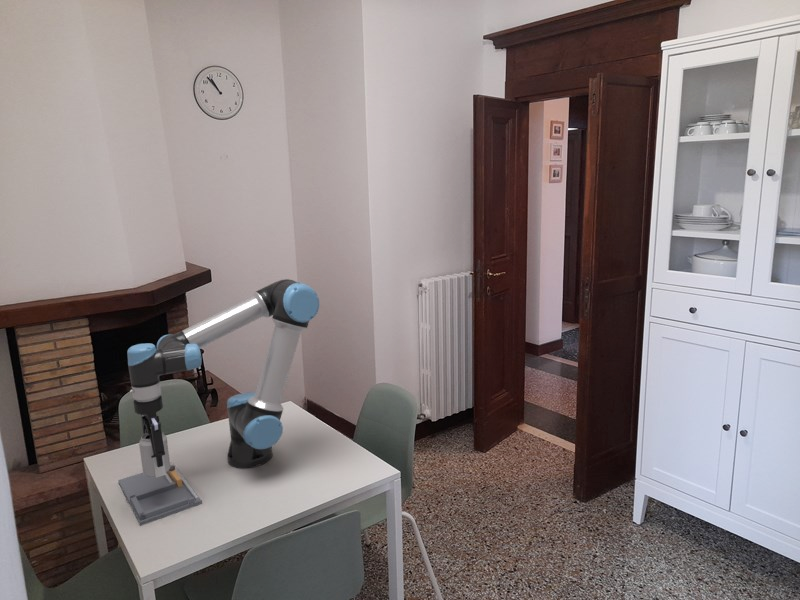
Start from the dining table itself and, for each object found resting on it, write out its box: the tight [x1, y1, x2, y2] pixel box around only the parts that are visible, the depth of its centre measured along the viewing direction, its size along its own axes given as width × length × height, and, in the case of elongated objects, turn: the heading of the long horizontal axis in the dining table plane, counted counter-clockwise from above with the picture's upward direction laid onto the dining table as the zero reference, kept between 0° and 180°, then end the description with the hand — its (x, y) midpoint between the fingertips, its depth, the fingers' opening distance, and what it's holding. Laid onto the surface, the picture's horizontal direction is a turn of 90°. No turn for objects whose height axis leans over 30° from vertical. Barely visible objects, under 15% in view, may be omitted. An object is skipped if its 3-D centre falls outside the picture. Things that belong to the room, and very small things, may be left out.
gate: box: [167, 464, 182, 487], centre depth 185 cm, size 17×2×3 cm, turn 36°
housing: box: [118, 461, 203, 527], centre depth 177 cm, size 30×17×2 cm, turn 36°
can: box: [138, 430, 171, 477], centre depth 167 cm, size 8×8×12 cm
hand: (157, 470), depth 168 cm, fingers closed on can, 7 cm apart
